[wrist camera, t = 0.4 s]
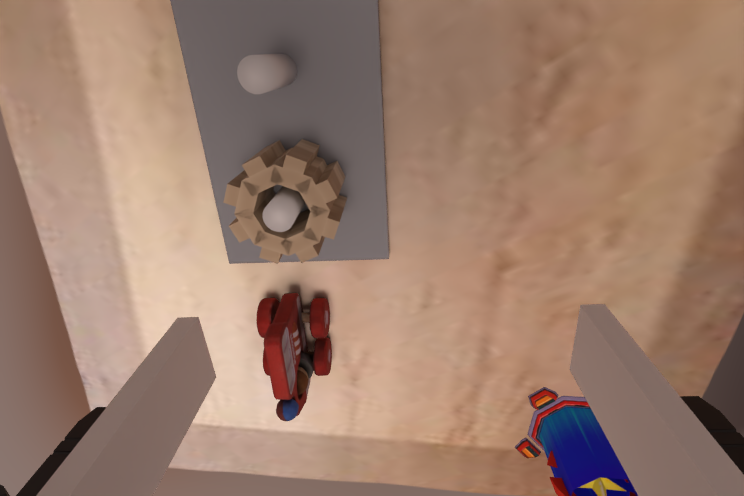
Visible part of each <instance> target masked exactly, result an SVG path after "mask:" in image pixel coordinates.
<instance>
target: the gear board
mask: <svg viewBox="0 0 744 496" xmlns="http://www.w3.org/2000/svg"><path fill="white" fill-rule="evenodd" d="M170 1H171V5H172V10H173V14H174V19H175V23H176V28H177V32H178V37H179V41H180V46H181V50H182V54H183V59H184V63H185V68H186V72H187V77H188V81H189V86H190V90H191V95H192V99H193V103H194V108H195V112H196V117H197V121H198V126H199V130H200V135H201V139H202V144H203V148H204V152H205V157H206V161H207V166H208V170H209V175H210V179H211V184H212V188H213V193H214V197H215V201H216V206H217V210H218V215H219V219H220V224H221V228H222V233H223V237H224V242H225V246H226V251H227V255H228V259H229V264H232V263H267V262H271V261H268V260H265V259H262V258H259V256H260V253H261V249H262V247H260V246H257V245H254V244H253V242H252V241H251V239H250V238H249V239H246V240H244V241H242V242H240V243H239V241H238V240H237V238H236V237H235V235H234V234H233V232H232V231H231V229H230V228H229V225H230V224H231V223H232V222H233V221H234V220H235V219H236V216H235V209H236V207H235V206H232V205H229V204H226V203H223V202H224V197H225V192H226V188H227V184H228V183H229V182H230V181H231V180H233V179H234V178H235V177H236V176H238V175H239V174H240V173H241V172H243V171H244V168H243V166H242V164H244V163H245V162H246V161H248V160H249V159H250V158H252V157H253V156H254V155H256V154H257V153H258V152H260V151H261V150H262V149H263V148H265V147H267V146H269V145H271V144H273V143H275V142H277V141H279V140H280V142H281V143H282V145H283V147H284V149H285V150H288V149H290V148H293V147H294V146H295V145H296V144H298V143H299V142H300V141H301V140H302V139H303V140H306V141H309V142H312V143H315V144H317V145H320V146H319V150H318V153H317V157H320V158H323V159H324V160H325V162H326V164H327V165H329V164H331V163H333V162H335V161H338V163H339V165H340V167H341V169H342V171H343V173H344V175H345V179H344V182H343V185H342V187H341V190H340V193H339V195H341V196H344V197H347V200H346V204H345V207H344V210H343V213H342V216H341V219H340V223H339V226H338V228H337V231H336V234H335V237H334V240H333V239H330V238H327V237H325V239H324V242H323V244H322V247H321V250H320V253H319V255H318V256H317V257H314V258H312V259H310V260H307V261H336V260H371V259H389V242H388V219H387V196H386V173H385V149H384V126H383V103H382V80H381V56H380V33H379V10H378V0H170ZM273 191H274V193H275V194H276V195H275V196H274V197H273V199H272V200H271V201H270V202H269V204H268V205H267V206H266V207H265V209H264V210H263V221H264V223H265V225H266V226H267V227H268V228H269V229H271V230H273V231H276V232H284V231H287V230H289V229H290V228H291V227H292V225H293V223H294V222H295V220H296V218H297V216H298V215H299V213H302V212H304V211H306V210H308V209H309V208H308V206H307V204H306V203H305V201H304V199H303V197H302V196H301V194H300V192H298V191H296V190H293V189H290V188H287V187H284V186H281V185H278V184H277V185H275V186H274V189H273ZM279 262H301V261H300V260H299V258H298V256H297V255H296V253H294V254H292V255H290V256H287V255H284V254H283V255H282V257H281V259H280V261H279Z"/></svg>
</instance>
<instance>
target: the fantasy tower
mask: <svg viewBox="0 0 744 496" xmlns="http://www.w3.org/2000/svg"><path fill="white" fill-rule="evenodd" d="M528 397H529V400H530V403H531V406H532V407H533V408H535V409H537V410H536V411H534V414H533V417H532V421H531V424H530V428H529V431H528V436H529V437H530V438H532V439H533V440H534V441H535V442H536V443H537V444H538V445H539V446H540V447H541V448H542V449H543V450H544V451H545V453H546V456H547V458H548V463H547V465H549V466H551V469H552V472H553V474H554V477H550V480H551V482H552V484H553V487H554V489H555V492H556V494H557V495H558V496H638V494H637V492H636V491H635V489H634V487H633V485H632V483H631V481H630V480H629V478H628V476H627V474H626V472H625V470H624V468H623V467H622V465H621V463H620V461H619V459H618V457H617V456H616V454H615V452H614V450H613V448H612V446H611V445H610V443H609V441H608V439H607V437H606V435H605V433H604V432H603V430H602V428H601V426H600V424H599V422H598V421H597V419H596V417H595V415H594V413H593V411H592V410H591V408H590V406H589V404H588V402H587V400H586V399H585V397H573V396H561V397H560V398H558V399H557V397H558V394H557V393H556V392H555V391H552V390H550V389H548V388H546V387H543V388H542V389H540V390H538V391H536V392H535V393H533V394H531V395H529V396H528ZM515 448H516V449H517V450H518V451H519V452H520V453H521V454H522V455H523V456H524V457H526V458H533V457H537V456H539V455H540V453H541V451H540V450H539V449H538V448H536V447H535V446H534V445H533V444H532V443H531V442H530V441H529V440H528V439H527V438H524V439H522V440H521V441H520V442H519V443H518V444H517V445H516V446H515Z"/></svg>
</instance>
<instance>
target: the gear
mask: <svg viewBox="0 0 744 496" xmlns="http://www.w3.org/2000/svg"><path fill="white" fill-rule="evenodd" d="M319 146H320V145H317V144H315V143H312V142H309V141H306V140H303V139H302V140H301V141H300V142H299V143H298V144H296V145H295V146H294V147H293V148H290V149H288V150H285V149H284V147H283V145H282V143H281V142H280V140H279V141H277V142H275V143H273V144H271V145H269V146H267V147H265V148H263V149H262V150H261V151H260V152H258V153H257V154H256V155H254V156H253V157H252V158H250V159H249V160H248V161H246V162H245V163H244V164H242V166H243V168H244V171H243V172H241V173H240V174H239V175H238V176H236V177H235V178H234V179H233V180H231V181H230V182H229V183H228V184H227V188H226V192H225V197H224V202H223V203H226V204H229V205H232V206H235V207H236V209H235V216H236V219H235V220H234V221H233V222H232V223H231V224H230V225H229V228H230V229H231V231H232V232H233V234H234V235H235V237H236V238H237V240H238V241H239V243H240V242H242V241H244V240H246V239H249V238H250V239H251V241H252V242H253V244H254V245H257V246H260V247H262V249H261V253H260V256H259V258H262V259H265V260H268V261H271V262H275V263H279V261H280V259H281V257H282V255H283V254H284V255H287V256H290V255H292V254H294V253H296V255H297V256H298V258H299V260H300V261H301V263H302V262H305V261H307V260H310V259H312V258H314V257H317V256H318V255H319V253H320V250H321V247H322V244H323V242H324V239H325V237H327V238H330V239H333V240H334V237H335V234H336V231H337V228H338V226H339V223H340V219H341V216H342V213H343V210H344V207H345V204H346V200H347V197H344V196H341V195H339V193H340V190H341V187H342V185H343V182H344V179H345V175H344V173H343V171H342V169H341V167H340V165H339V163H338V161H335V162H333V163H331V164H329V165H327V164H326V162H325V160H324V159H323V158H320V157H317V153H318V150H319ZM277 184H278V185H281V186H284V187H287V188H290V189H293V190H296V191H298V192H300V194H301V196H302V197H303V199H304V201H305V203H306V204H307V206H308V208H309V209H308V210H306V211H304V212H302V213H299V215H298V216H297V218H296V220H295V222H294V223H293V225H292V227H291V228H290V229H289V230H287V231H284V232H276V231H273V230H271V229H269V228H268V227H267V226H266V225H265V223H264V221H263V210H264V209H265V207H266V206H267V205H268V204H269V202H270V201H271V200H272V199H273V197H274V196H275V195H276V194H275V193H274V191H273V189H274V186H275V185H277Z"/></svg>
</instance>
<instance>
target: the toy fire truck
mask: <svg viewBox="0 0 744 496" xmlns="http://www.w3.org/2000/svg"><path fill="white" fill-rule="evenodd" d="M303 322H309V323H310V330H311V334H312V336H313V337H314V338H317V339H316V340H315V344H314V352H313V351H309V352H308V347H307V345H306V338H305V331H304V325H303ZM329 324H330V311H329V303H328V300H327V299H325V298H315V299H313V300H312V302H311V305H310V313H303V310H302V307H301V303H300V297H299V294H298V293H288V294H284V295H283V296H282V299H281V302H280V303H279V301H278V299H276V298H264V299H262V300H261V302H260V303H259V306H258V311H257V328H258V332H259V334H260V336H261V337H262V338H264V353H263V368H264V371H265V373H266V374H267V375H269V376H270V378H271V383H272V389H273V394H274V397H275V398H276V399H280V401H279V402H278V404H277V409H276V413H277V415H278V417H279V418H280V419H281V420H283V421H290V420H292V419H294V418H295V417H296V416H298V415H299V413H300V411H301V410H302V408H303V406H304V404H305V403H306V399H307V394H308V389H309V385H310V378H311V376H312V374H313V371H315V374H316V375H318V376H323V375H328V374H329V373H330V369H331V359H332V350H331V342H330V339H329V338H324V337H326V336H327V335H328V332H329Z"/></svg>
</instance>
